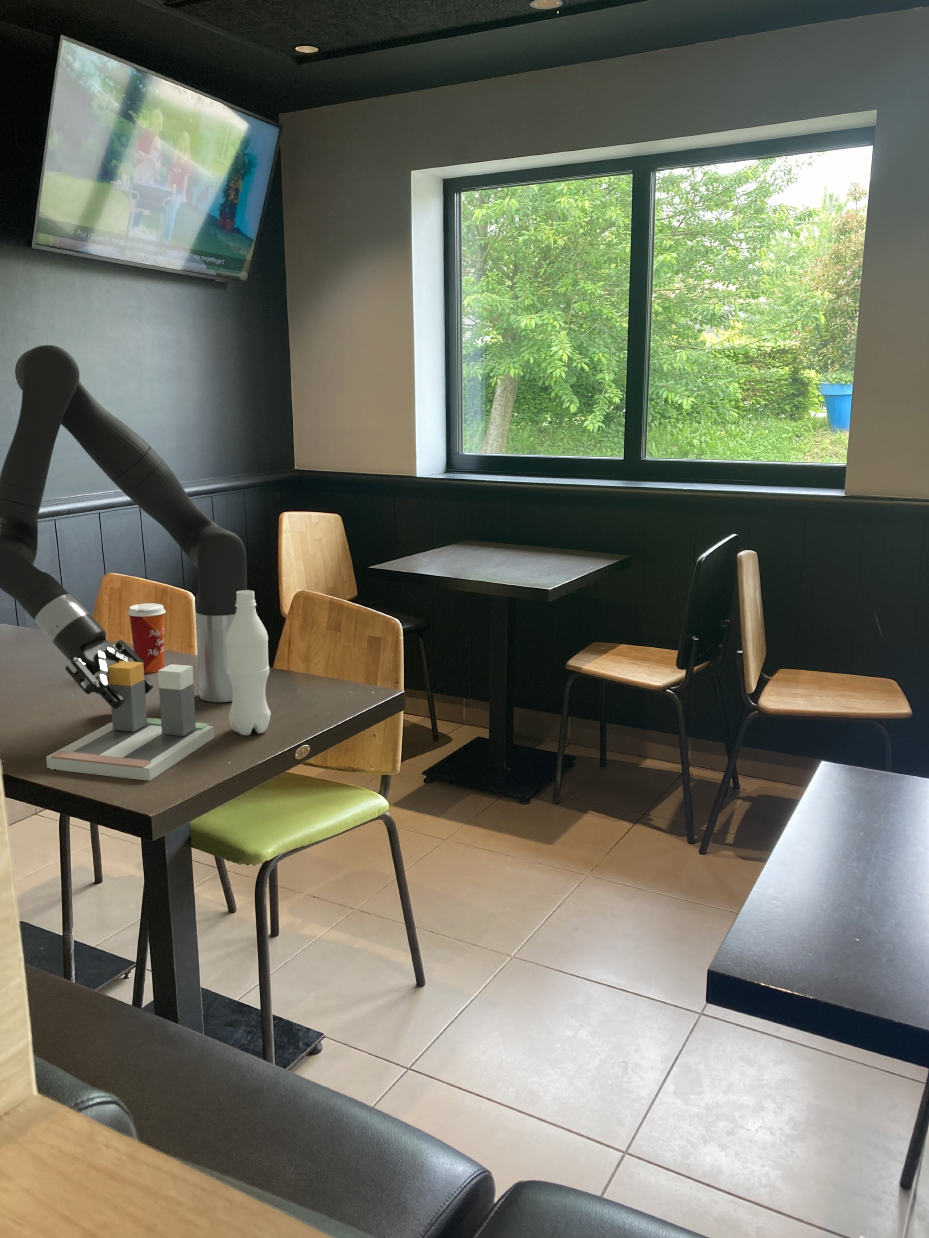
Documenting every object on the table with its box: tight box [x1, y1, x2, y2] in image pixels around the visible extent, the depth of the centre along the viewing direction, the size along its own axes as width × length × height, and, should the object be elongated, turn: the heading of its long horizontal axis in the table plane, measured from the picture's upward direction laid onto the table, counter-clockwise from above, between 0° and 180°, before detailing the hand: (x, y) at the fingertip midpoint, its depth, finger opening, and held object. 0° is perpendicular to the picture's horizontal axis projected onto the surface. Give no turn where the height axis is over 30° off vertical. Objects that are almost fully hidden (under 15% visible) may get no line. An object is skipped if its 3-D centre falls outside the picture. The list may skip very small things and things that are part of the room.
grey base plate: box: [46, 663, 215, 782], centre depth 152 cm, size 20×18×13 cm
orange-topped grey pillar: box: [108, 660, 148, 732], centre depth 158 cm, size 4×4×11 cm
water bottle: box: [226, 589, 272, 736], centre depth 162 cm, size 7×7×25 cm
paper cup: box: [127, 602, 167, 674], centre depth 200 cm, size 8×8×14 cm
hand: (135, 698), depth 158 cm, fingers open, 8 cm apart
